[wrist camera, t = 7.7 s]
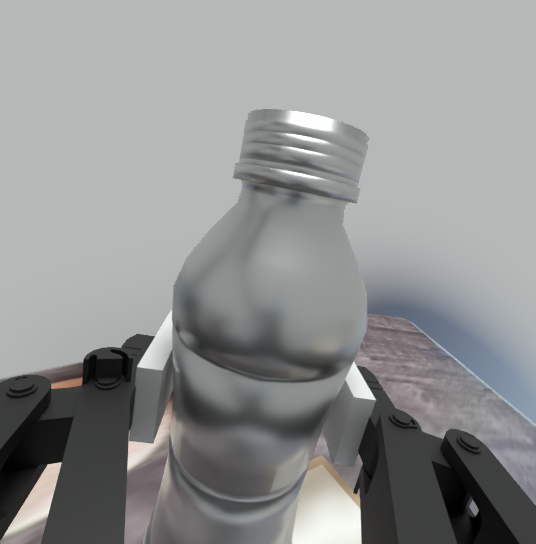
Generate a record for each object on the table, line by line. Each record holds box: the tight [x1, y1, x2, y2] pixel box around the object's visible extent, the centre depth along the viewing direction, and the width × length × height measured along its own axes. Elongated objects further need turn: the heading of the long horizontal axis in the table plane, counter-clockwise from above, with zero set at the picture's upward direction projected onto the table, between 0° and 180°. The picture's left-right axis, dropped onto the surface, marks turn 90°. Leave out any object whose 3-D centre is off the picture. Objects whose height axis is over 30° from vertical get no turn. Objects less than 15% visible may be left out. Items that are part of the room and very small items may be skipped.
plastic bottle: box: [141, 109, 369, 544], centre depth 12 cm, size 6×7×20 cm
